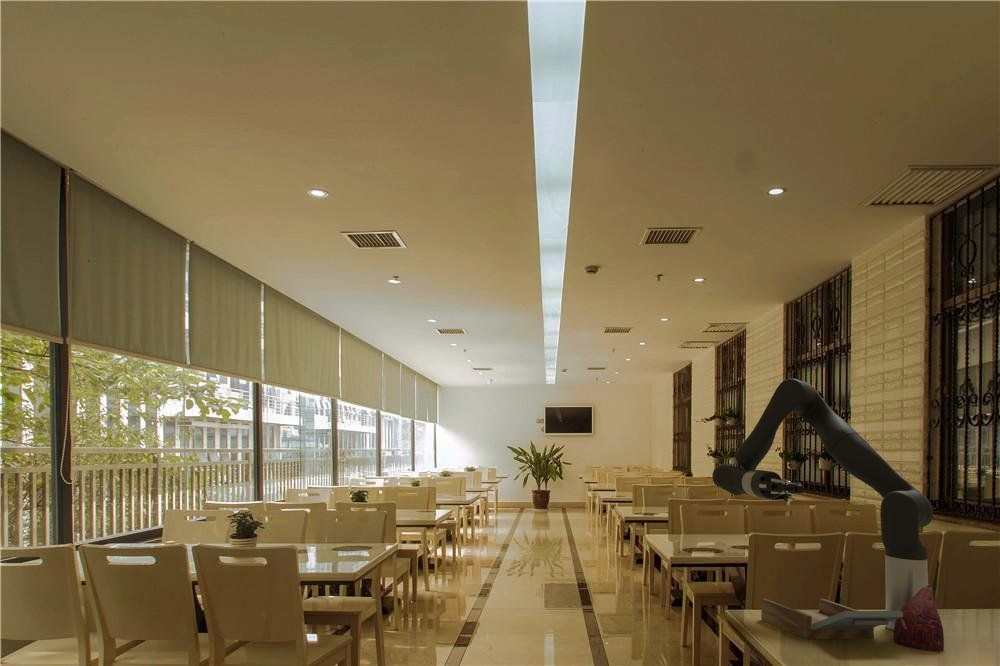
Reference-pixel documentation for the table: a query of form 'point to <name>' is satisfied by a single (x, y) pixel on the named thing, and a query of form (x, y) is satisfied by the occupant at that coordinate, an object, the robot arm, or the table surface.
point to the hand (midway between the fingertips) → (800, 489)
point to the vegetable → (920, 623)
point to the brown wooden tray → (810, 620)
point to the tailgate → (857, 620)
